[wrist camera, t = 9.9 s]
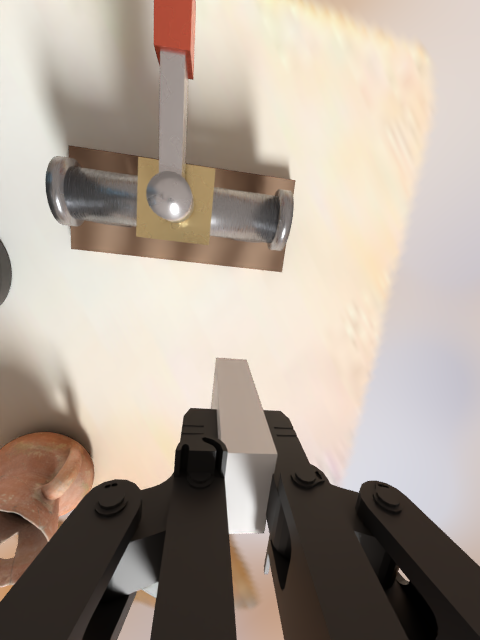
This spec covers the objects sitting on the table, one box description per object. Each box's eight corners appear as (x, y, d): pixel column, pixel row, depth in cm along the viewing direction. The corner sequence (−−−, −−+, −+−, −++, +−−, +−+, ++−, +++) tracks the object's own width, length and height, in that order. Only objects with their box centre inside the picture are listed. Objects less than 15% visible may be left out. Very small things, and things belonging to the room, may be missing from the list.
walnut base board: (78, 248, 39) (71, 248, 37) (76, 150, 36) (68, 145, 34) (278, 270, 43) (281, 272, 41) (291, 183, 40) (295, 180, 38)
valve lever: (193, 224, 28) (191, 221, 24) (155, 220, 27) (146, 217, 23) (202, 9, 24) (200, -37, 20) (156, 1, 23) (146, -48, 19)
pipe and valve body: (90, 231, 37) (45, 225, 27) (90, 171, 35) (41, 141, 25) (267, 252, 40) (287, 254, 30) (274, 198, 38) (298, 181, 28)
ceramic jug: (44, 516, 49) (-16, 620, 35) (-24, 461, 45) (-122, 555, 31) (129, 458, 48) (101, 542, 35) (67, 397, 44) (8, 465, 31)
